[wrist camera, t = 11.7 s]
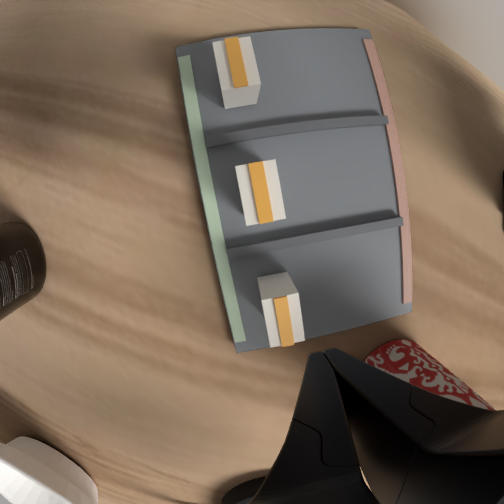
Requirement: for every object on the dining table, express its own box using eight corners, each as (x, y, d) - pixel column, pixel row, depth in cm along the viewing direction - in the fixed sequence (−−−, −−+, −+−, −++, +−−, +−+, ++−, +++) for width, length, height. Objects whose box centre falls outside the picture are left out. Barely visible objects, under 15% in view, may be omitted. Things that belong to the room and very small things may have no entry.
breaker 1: (247, 63, 17) (250, 34, 13) (256, 103, 17) (261, 82, 13) (217, 68, 17) (211, 40, 13) (224, 109, 17) (221, 89, 13)
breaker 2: (287, 271, 20) (299, 294, 16) (293, 312, 20) (305, 342, 16) (257, 277, 20) (261, 301, 16) (264, 318, 20) (270, 349, 16)
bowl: (83, 426, 24) (55, 479, 16) (145, 515, 29) (136, 555, 21) (-24, 399, 24) (-52, 430, 16) (41, 488, 29) (26, 519, 21)
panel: (364, 34, 17) (373, 25, 15) (405, 307, 22) (416, 315, 20) (177, 52, 17) (172, 42, 16) (236, 346, 22) (236, 358, 20)
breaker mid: (267, 164, 18) (275, 158, 14) (276, 211, 19) (286, 219, 15) (236, 169, 18) (234, 165, 14) (244, 217, 19) (246, 226, 15)
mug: (360, 325, 22) (450, 444, 9) (442, 328, 23) (536, 410, 10) (320, 435, 25) (353, 548, 12) (395, 429, 26) (446, 518, 13)
